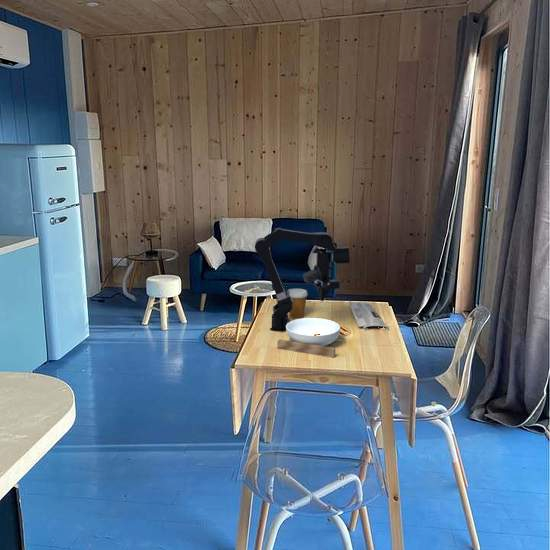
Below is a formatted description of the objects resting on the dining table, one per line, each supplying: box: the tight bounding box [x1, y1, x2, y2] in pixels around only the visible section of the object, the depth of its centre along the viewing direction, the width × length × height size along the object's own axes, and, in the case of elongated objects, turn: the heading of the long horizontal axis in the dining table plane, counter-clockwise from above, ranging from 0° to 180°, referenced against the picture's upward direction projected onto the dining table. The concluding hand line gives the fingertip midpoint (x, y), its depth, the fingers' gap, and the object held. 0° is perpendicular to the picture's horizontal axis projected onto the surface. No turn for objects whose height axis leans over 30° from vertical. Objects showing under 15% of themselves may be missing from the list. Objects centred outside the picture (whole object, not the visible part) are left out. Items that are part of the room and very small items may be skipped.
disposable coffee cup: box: [287, 288, 309, 320], centre depth 233 cm, size 10×10×12 cm
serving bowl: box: [285, 317, 341, 347], centre depth 201 cm, size 21×21×7 cm
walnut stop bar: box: [277, 339, 336, 359], centre depth 192 cm, size 22×2×3 cm, turn 66°
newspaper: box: [348, 300, 390, 331], centre depth 234 cm, size 35×12×4 cm, turn 2°
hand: (321, 300), depth 215 cm, fingers closed
